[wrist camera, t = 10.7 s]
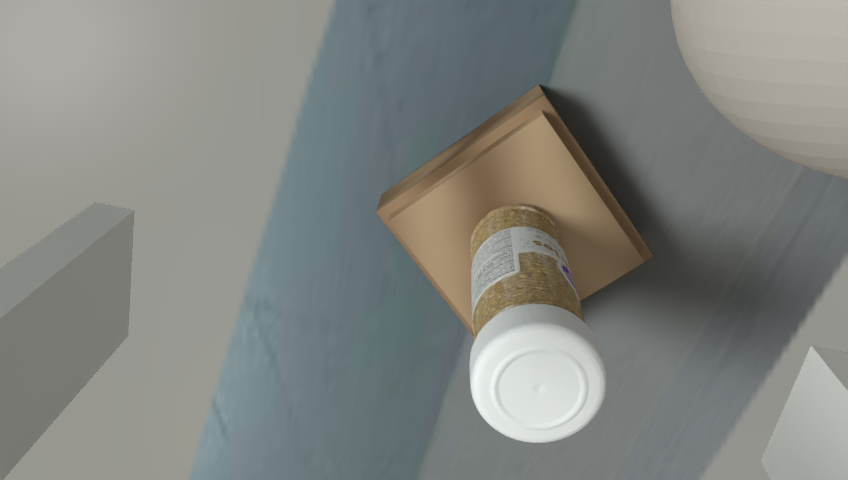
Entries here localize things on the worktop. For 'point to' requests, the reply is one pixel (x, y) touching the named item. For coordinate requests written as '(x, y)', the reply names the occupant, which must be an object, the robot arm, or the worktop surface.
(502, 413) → the sprinkles bottle
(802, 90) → the vase
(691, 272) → the worktop surface
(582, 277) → the pedestal
